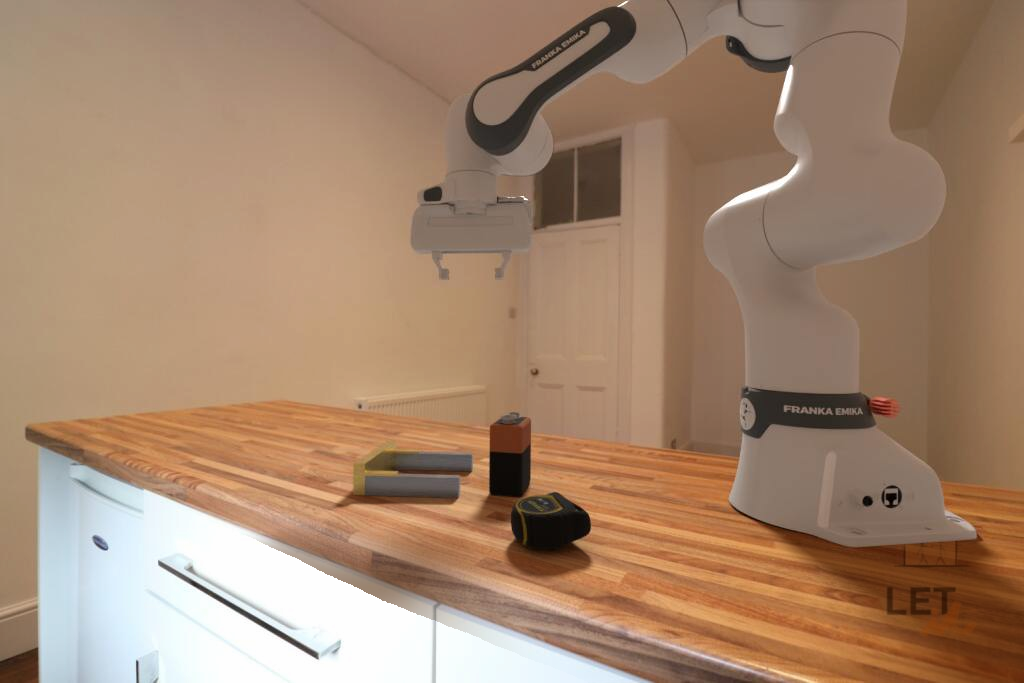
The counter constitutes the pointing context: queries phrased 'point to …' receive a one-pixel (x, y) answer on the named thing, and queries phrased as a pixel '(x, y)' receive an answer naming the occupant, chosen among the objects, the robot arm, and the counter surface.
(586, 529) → the tape measure
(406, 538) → the counter surface
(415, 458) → the yellow grey u-shaped bracket
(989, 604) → the counter surface
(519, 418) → the battery
